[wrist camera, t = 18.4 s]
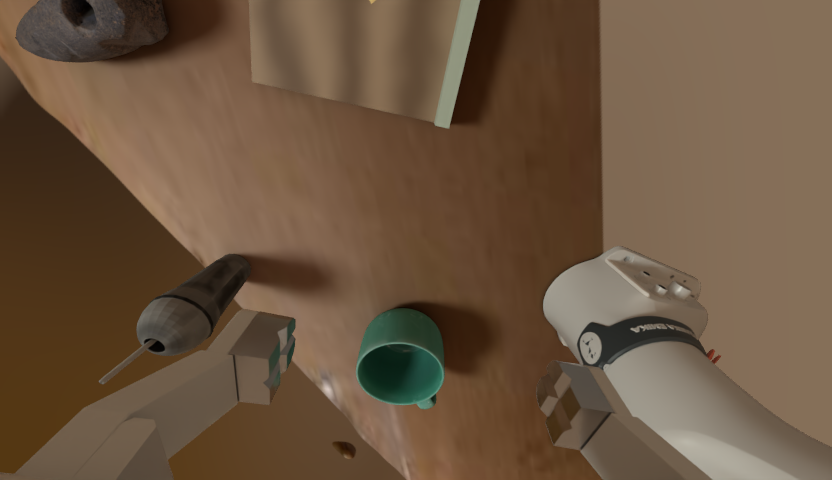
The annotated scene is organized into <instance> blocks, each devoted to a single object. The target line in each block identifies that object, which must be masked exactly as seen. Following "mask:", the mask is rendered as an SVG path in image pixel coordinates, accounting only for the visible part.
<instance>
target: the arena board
mask: <svg viewBox="0 0 832 480" xmlns="http://www.w3.org/2000/svg"><path fill="white" fill-rule="evenodd" d="M460 2H461V0H249V15H250V41H251V67H252V82H255V83H260V84H264V85H269V86H273V87H278V88H282V89H287V90H291V91H296V92H300V93H304V94H309V95H313V96H318V97H322V98H327V99H331V100H336V101H340V102H345V103H349V104H354V105H358V106H363V107H367V108H372V109H376V110H381V111H385V112H390V113H394V114H398V115H403V116H407V117H412V118H416V119H421V120H425V121H430V122H434V121H435V117H436V112H437V107H438V103H439V98H440V94H441V89H442V85H443V80H444V75H445V71H446V66H447V62H448V57H449V53H450V48H451V43H452V39H453V34H454V30H455V25H456V21H457V16H458V12H459V7H460Z"/></svg>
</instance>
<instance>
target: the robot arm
mask: <svg viewBox="0 0 832 480" xmlns="http://www.w3.org/2000/svg"><path fill="white" fill-rule="evenodd" d="M625 257H626V258H625ZM624 258H625V259H624ZM700 290H701V283H700V282H699V281H698V280H697V279H696V278H694V277H693V276H690V275H688V274H686V273H683V272H681V271H679V270H677V269H674V268H672V267H670V266H667V265H665V264H662V263H660V262H658V261H656V260H653V259H651V258H648V257H646V256H644V255H642V254H639V253H637V252H635V251H632V250H630V249H628V248H625V247H623V246H616V247H614V248H612V249H610V250H608V251H607V252H605V253H604V254H602V255H601V256H599V257H597V258H595V259H592V260H589V261H586V262H583V263H580V264H577V265H575V266H573V267H571V268H569V269H568V270H566V271H565V272H563V273H562V274H561V275H560V276H558V277H557V278H556V279H555V280H554V282H553V283H552V284H551V285H550V287H549V288H548V290H547V292H546V294H545V297H544V302H543V310H544V314H545V316H546V318H547V320H548V321H549V322H550V324H551V325H552V326H553V327H554V328H555V329H556V330H557V332H558V336H559V339H560V341H561V342H562V343H563V345H565V346H568V347H569V348H570V350H571V351H572V352H573V354H574V355H575V357H576V358H577V359H578V361H579V362H580V363H581V365H579V364H573V363H567V362H560V361H552V362H550V363H549V365H548V366H547V368H546V369H547V372H548V374H547V375H545V376H543V377H541V378H540V380H539V382H538V384H537V392H536V395H537V401H538V404H539V407H540V409H541V410H542V411H543V412H544V413H545V414H546V416H547V419H546V422H545V423H546V426H547V429H548V431H549V434H550V437H551V440H552V442H553V445H554V446H560V447H565V448H571V449H577V450H581V453H582V454H583V455H584V457H585V458H586V459H587V460H588V462H589V463H590V464H591V465H592V467H593V468H594V469H595V470H596V472H597V473H598V474H599V475H600V476H601V478H602V479H603V480H832V447H830V446H828V445H826V444H824V443H822V442H820V441H818V440H816V439H814V438H812V437H810V436H808V435H807V434H805V433H803V432H801V431H800V430H798V429H796V428H794V427H793V426H791V425H789V424H788V423H786V422H785V421H783V420H782V419H780V418H779V417H778V416H776V415H775V414H773V413H772V412H771V411H769V410H768V409H767V408H765V407H764V406H763V405H761V404H760V403H759V402H758V401H757V400H755V399H754V398H753V397H752V396H750V395H749V394H748V393H747V392H746V391H744V390H743V389H742V388H741V387H740V386H739V385H737V384H736V383H735V382H734V381H733V380H732V379H730V378H729V377H728V376H727V375H726V374H725V373H724V372H722V371H721V370H720V369H719V368H718V367H717V366H716V365H715V363H716V362H717V361H718V360H719V358H720V357H721V356H720V355H719V356H717V357H716V358H714V360H712V361H710V360H711V359H712V357H713V355H714V352H715V351H714V350H713V349H712V350H710V351H709V352H708V353H707V354H706V352H705V350H704V348H703V346H702V345H701V343H700V342H699V338H700V336H701V335H702V333H703V331H704V329H705V327H706V325H707V321H708V314H707V311H706V309H705V308H704V307H703V306H702V305H701V304H700V303H698V302H697V300H698V297H699V294H700ZM294 329H295V319H294V318H292V317H286V316H281V315H276V314H271V313H265V312H258V311H253V310H248V309H242V310H240V311H239V312H238V313H237V314H236V315H235V316H234V317H233V319H232V320H231V321H230V322H229V323H228V325H227V326H226V327H225V328H224V330H223V331H222V332H221V333H220V334H219V336H218V337H217V338H216V339H215V341H214V342H213V343H212V344H211V345H210V347H209V348H208V349H207V350H206V351H202V350H200V351H198V352H196V353H194V354H192V355H190V356H188V357H186V358H184V359H182V360H180V361H178V362H176V363H174V364H172V365H169V366H168V367H165V368H163V369H161V370H159V371H157V372H155V373H153V374H151V375H149V376H147V377H146V378H143V379H141V380H139V381H137V382H135V383H133V384H131V385H129V386H127V387H125V388H123V389H121V390H119V391H117V392H115V393H113V394H111V395H109V396H107V397H105V398H103V399H101V400H99V401H97V402H95V403H93V404H91V405H89V406H87V407H85V408H83V409H82V410H81V411H80V412H79V413H78V414H77V415H76V416H75V417H74V418H73V419H72V420H71V421H70V422H69V423H68V424H66V425H65V426H64V427H63V428H62V429H61V430H60V431H59V432H58V433H57V434H56V435H55V436H54V437H53V438H52V439H51V440H50V441H48V442H47V443H46V444H45V445H44V446H43V447H42V448H41V449H40V450H39V451H38V452H37V453H36V454H35V455H34V456H33V457H32V458H31V459H29V460H28V461H27V462H26V463H25V464H24V465H23V466H22V467H21V468H20V469H19V470H18V471H17V472H16V473H15V474H8V473H0V480H174V479H173V475H172V472H171V469H170V466H169V463H168V459H169V458H170V457H172V456H173V455H174V454H175V453H177V452H178V451H179V450H180V449H182V448H183V447H184V446H185V445H186V444H188V443H189V442H190V441H192V440H193V439H194V438H195V437H197V436H198V435H199V434H200V433H201V432H203V431H204V430H205V429H207V428H208V427H209V426H210V425H212V424H213V423H214V422H215V421H217V420H218V419H219V418H220V417H221V416H223V415H224V414H225V413H227V412H228V411H229V410H230V409H231V408H233V407H234V406H235V405H236V404H238V401H239V402H249V403H257V404H265V405H270V404H271V402H272V400H273V397H274V395H275V393H276V391H277V389H278V387H279V385H280V374H281V373H283V372H285V371H286V370H287V368H288V366H289V364H290V362H291V358H292V355H293V352H294V347H295V338H294V336H293V335H292V333H293V331H294Z"/></svg>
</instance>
